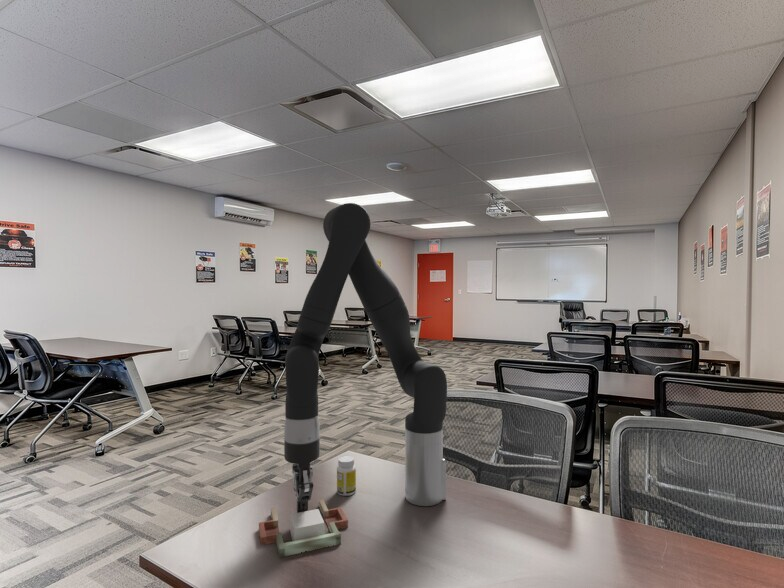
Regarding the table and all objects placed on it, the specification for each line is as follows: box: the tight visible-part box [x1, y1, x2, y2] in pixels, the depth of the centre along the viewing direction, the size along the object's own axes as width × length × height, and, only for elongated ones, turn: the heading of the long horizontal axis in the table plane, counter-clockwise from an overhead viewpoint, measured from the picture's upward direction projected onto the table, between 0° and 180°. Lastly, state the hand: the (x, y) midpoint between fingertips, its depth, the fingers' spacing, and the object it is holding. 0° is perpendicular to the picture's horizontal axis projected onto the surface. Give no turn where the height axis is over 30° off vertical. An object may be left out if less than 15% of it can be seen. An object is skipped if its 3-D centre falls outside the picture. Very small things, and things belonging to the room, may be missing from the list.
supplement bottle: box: [336, 455, 357, 497], centre depth 109 cm, size 5×5×8 cm
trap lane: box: [258, 498, 349, 558], centre depth 92 cm, size 18×17×2 cm
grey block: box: [289, 508, 325, 541], centre depth 89 cm, size 6×6×4 cm
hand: (302, 515), depth 93 cm, fingers closed
